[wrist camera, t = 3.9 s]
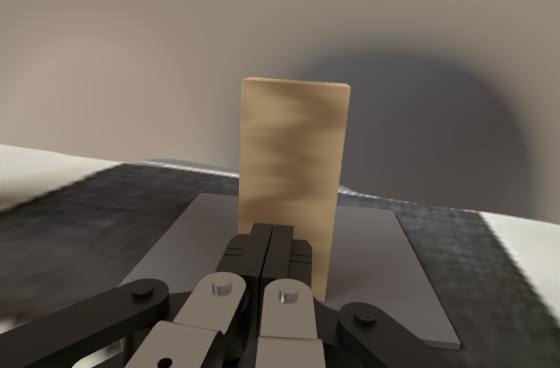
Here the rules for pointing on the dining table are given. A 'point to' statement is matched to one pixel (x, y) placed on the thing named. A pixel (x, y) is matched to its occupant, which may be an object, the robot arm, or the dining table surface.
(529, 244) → the dining table surface
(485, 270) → the dining table surface
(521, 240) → the dining table surface
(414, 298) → the charcoal placemat
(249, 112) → the oak card block
